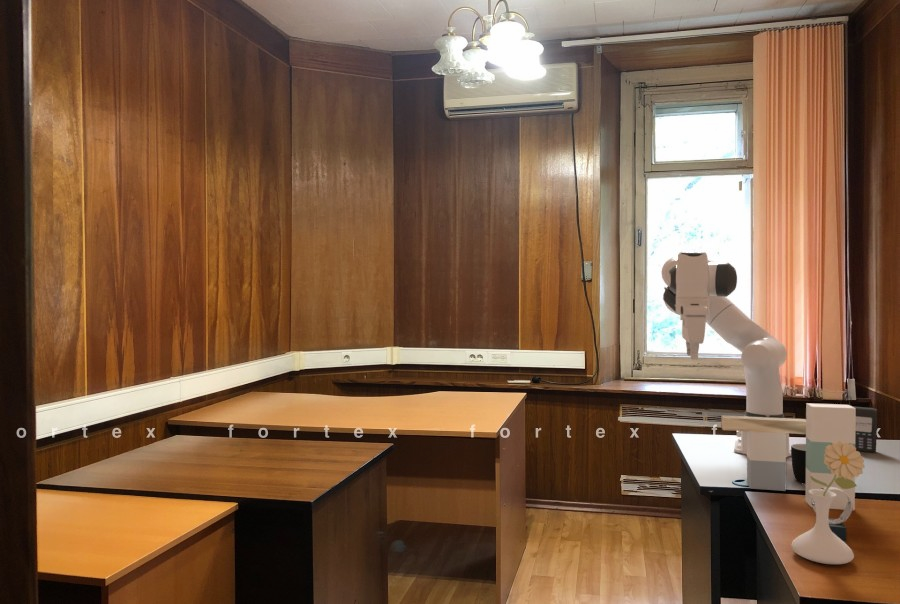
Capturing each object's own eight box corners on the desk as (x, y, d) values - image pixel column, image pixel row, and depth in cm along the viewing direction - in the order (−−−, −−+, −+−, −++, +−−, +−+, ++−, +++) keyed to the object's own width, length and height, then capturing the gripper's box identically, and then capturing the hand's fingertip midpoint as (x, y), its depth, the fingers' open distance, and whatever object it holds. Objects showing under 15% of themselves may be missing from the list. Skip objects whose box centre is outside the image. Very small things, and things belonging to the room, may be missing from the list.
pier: (746, 483, 186) (747, 428, 186) (781, 485, 184) (781, 429, 184) (750, 488, 181) (750, 431, 181) (785, 490, 179) (785, 433, 179)
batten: (721, 427, 187) (721, 415, 187) (804, 431, 181) (805, 419, 181) (723, 430, 184) (723, 417, 184) (808, 434, 178) (808, 421, 178)
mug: (833, 486, 183) (833, 451, 183) (802, 487, 183) (802, 451, 182) (807, 474, 195) (807, 441, 195) (778, 474, 194) (778, 441, 194)
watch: (808, 529, 151) (809, 482, 150) (848, 533, 148) (848, 486, 148) (814, 538, 145) (815, 490, 145) (855, 542, 143) (856, 493, 143)
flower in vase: (795, 565, 131) (796, 443, 131) (787, 544, 142) (788, 431, 142) (869, 575, 127) (871, 448, 126) (856, 552, 137) (857, 436, 137)
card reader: (844, 450, 223) (845, 407, 223) (845, 447, 227) (845, 405, 226) (876, 453, 218) (876, 409, 218) (876, 451, 221) (876, 408, 221)
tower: (805, 500, 171) (806, 403, 170) (847, 503, 168) (848, 404, 168) (811, 507, 166) (811, 406, 165) (854, 510, 163) (855, 408, 163)
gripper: (677, 306, 191) (677, 353, 192) (684, 309, 172) (683, 361, 172) (699, 307, 190) (699, 353, 190) (709, 309, 170) (709, 361, 170)
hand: (692, 357), depth 181 cm, fingers open, 8 cm apart
